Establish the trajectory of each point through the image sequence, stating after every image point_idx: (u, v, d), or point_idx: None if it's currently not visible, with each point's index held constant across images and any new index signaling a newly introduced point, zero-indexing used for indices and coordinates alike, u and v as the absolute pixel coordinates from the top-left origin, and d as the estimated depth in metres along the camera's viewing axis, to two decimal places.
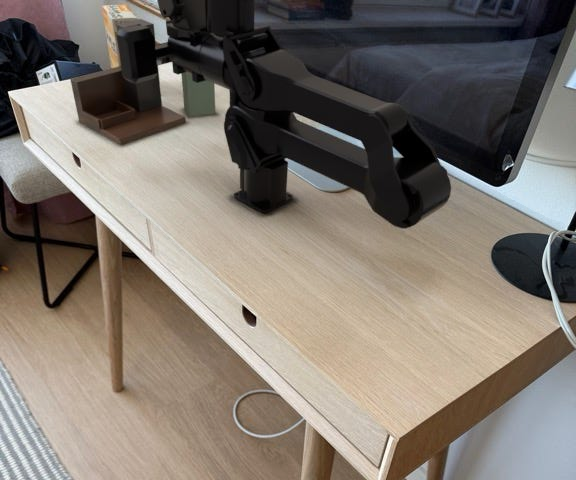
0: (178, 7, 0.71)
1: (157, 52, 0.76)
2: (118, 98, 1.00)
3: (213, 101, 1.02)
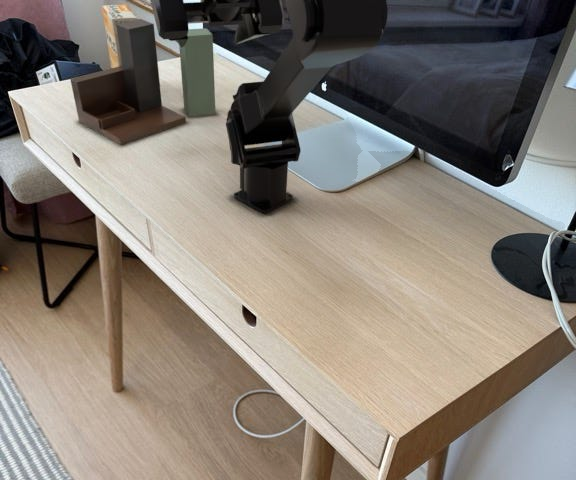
0: None
1: (188, 5, 0.79)
2: (118, 98, 1.00)
3: (213, 101, 1.02)
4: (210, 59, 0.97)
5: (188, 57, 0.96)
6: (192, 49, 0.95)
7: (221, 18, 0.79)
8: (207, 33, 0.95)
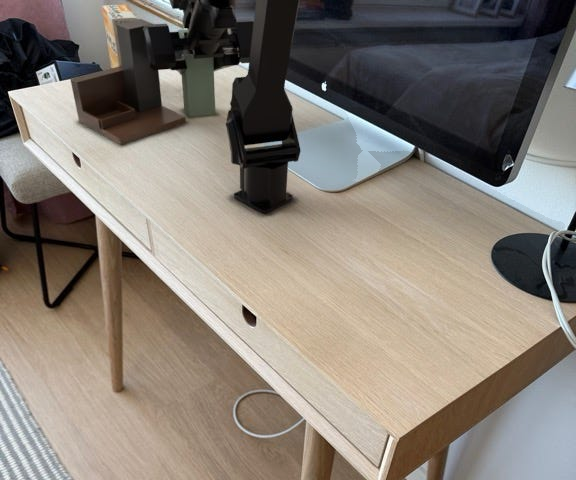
0: None
1: (175, 41, 0.90)
2: (118, 98, 1.00)
3: (213, 101, 1.02)
4: (210, 59, 0.97)
5: (187, 57, 0.96)
6: None
7: (204, 52, 0.90)
8: None
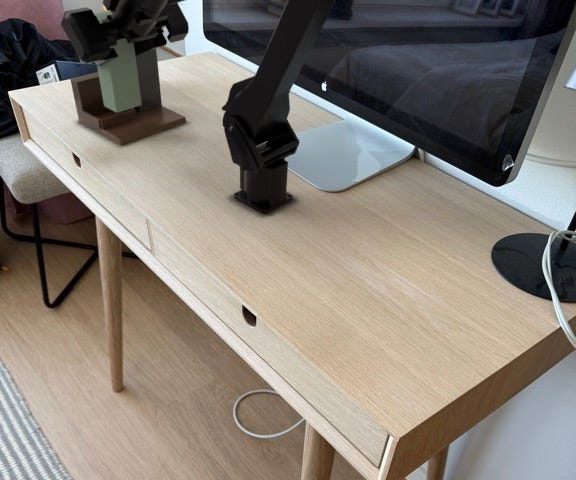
0: None
1: (103, 26, 0.79)
2: None
3: (138, 91, 0.92)
4: (131, 43, 0.87)
5: None
6: None
7: (139, 34, 0.80)
8: None
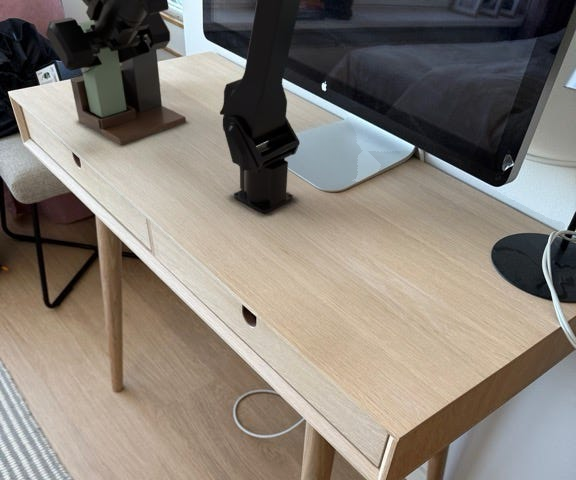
0: None
1: (86, 35, 0.82)
2: None
3: (123, 96, 0.96)
4: (114, 51, 0.91)
5: None
6: None
7: (122, 42, 0.84)
8: None
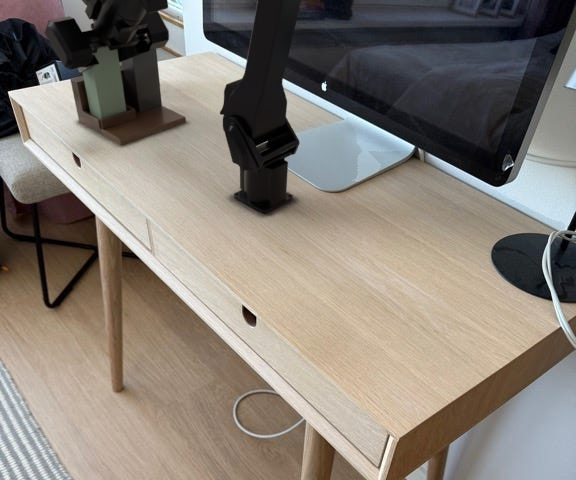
0: None
1: (85, 34, 0.82)
2: None
3: (124, 105, 0.97)
4: (116, 60, 0.91)
5: None
6: (98, 52, 0.89)
7: (121, 41, 0.84)
8: None
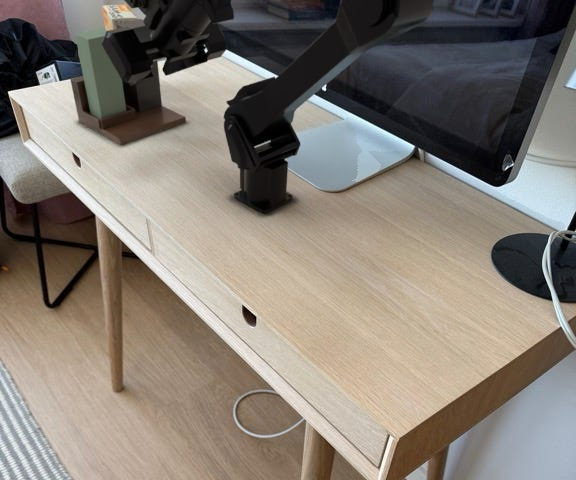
0: None
1: (143, 45, 0.78)
2: None
3: (124, 105, 0.97)
4: None
5: (94, 61, 0.89)
6: (98, 52, 0.89)
7: (180, 53, 0.79)
8: None
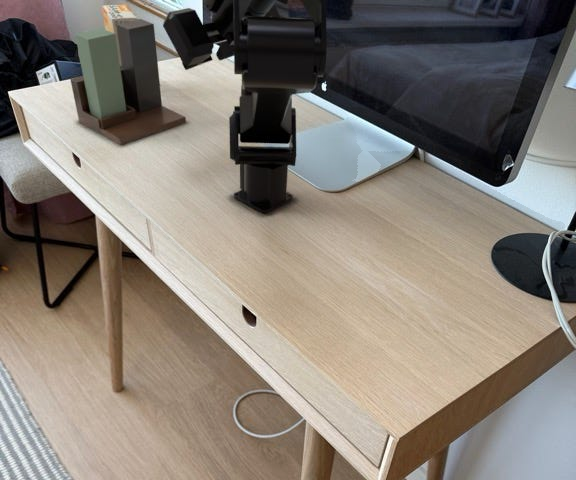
0: None
1: (205, 27, 0.76)
2: None
3: (124, 105, 0.97)
4: (116, 60, 0.92)
5: (94, 61, 0.89)
6: (98, 52, 0.89)
7: None
8: (109, 33, 0.89)
